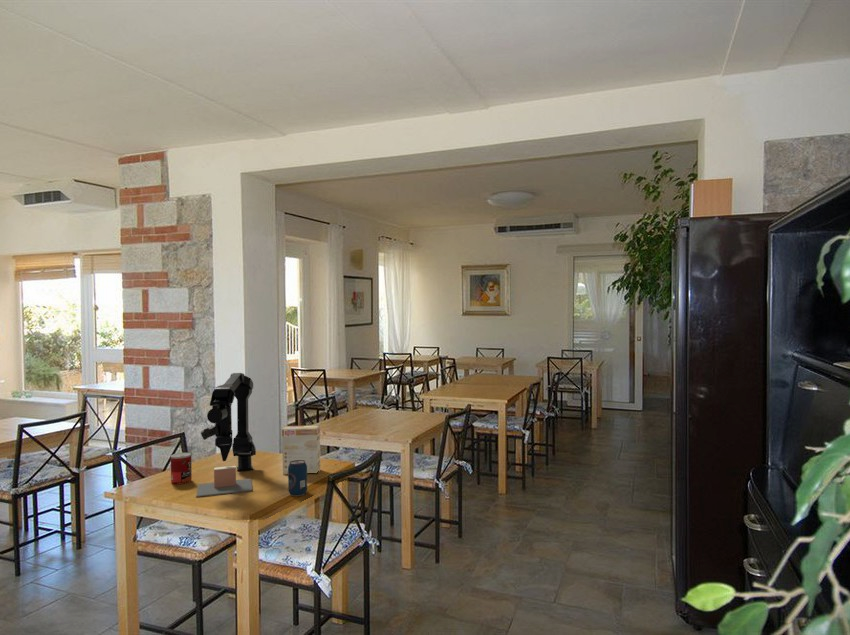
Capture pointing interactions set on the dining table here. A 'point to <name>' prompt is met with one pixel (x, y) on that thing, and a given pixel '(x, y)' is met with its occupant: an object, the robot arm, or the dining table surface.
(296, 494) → the soda can
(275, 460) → the dining table surface
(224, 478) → the slab
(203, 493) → the mat
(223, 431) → the robot arm
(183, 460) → the canned food
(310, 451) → the coffeecake box
